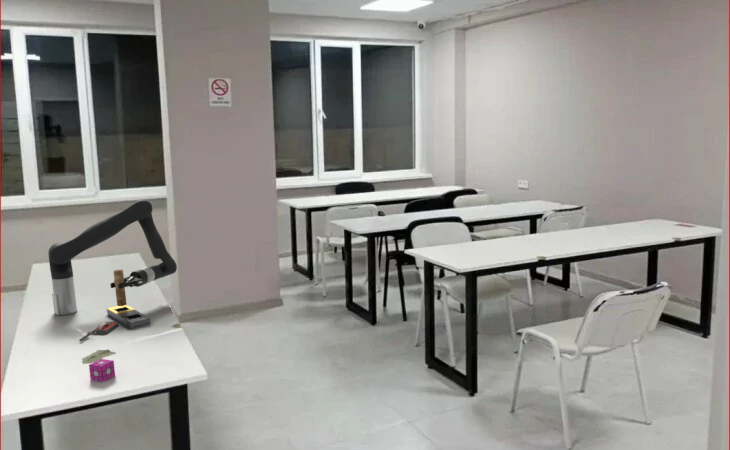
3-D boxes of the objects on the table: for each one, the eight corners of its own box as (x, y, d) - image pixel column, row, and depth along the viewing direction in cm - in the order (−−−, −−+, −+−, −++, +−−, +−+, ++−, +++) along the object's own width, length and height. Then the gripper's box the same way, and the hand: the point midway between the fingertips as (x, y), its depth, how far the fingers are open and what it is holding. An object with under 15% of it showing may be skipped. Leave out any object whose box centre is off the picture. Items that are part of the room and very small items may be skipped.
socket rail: (128, 332, 261) (127, 322, 261) (105, 317, 282) (104, 308, 281) (153, 325, 268) (152, 316, 268) (128, 312, 289) (128, 303, 288)
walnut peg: (119, 306, 277) (115, 272, 274) (115, 304, 280) (112, 270, 277) (128, 304, 279) (124, 270, 277) (124, 302, 282) (121, 269, 280)
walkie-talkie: (101, 327, 270) (77, 343, 250) (100, 317, 269) (76, 333, 249) (121, 327, 269) (98, 343, 249) (120, 317, 268) (97, 333, 249)
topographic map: (72, 364, 228) (71, 360, 228) (99, 350, 241) (98, 346, 240) (100, 369, 224) (100, 365, 223) (126, 355, 236) (126, 351, 236)
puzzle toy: (90, 380, 212) (88, 364, 211) (102, 373, 218) (101, 358, 217) (103, 382, 210) (101, 366, 209) (115, 375, 216) (113, 360, 215)
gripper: (130, 268, 293) (102, 277, 277) (153, 270, 287) (126, 279, 272) (131, 283, 294) (103, 293, 279) (155, 285, 289) (128, 295, 273)
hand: (115, 286), depth 275 cm, fingers closed on walnut peg, 4 cm apart
